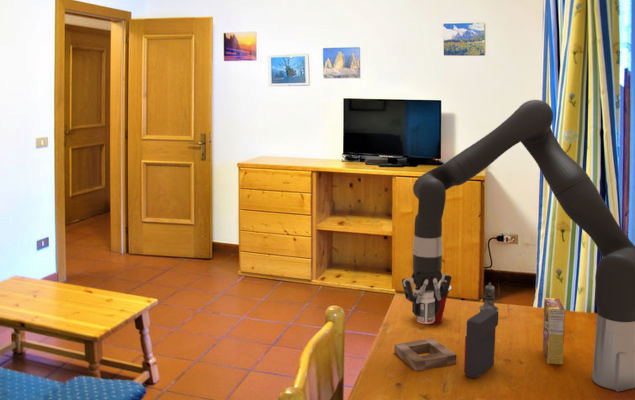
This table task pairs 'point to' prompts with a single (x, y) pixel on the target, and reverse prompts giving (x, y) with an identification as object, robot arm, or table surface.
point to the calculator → (480, 342)
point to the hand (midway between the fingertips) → (425, 313)
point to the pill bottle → (427, 308)
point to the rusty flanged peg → (489, 299)
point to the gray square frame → (436, 359)
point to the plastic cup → (442, 305)
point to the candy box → (553, 330)
